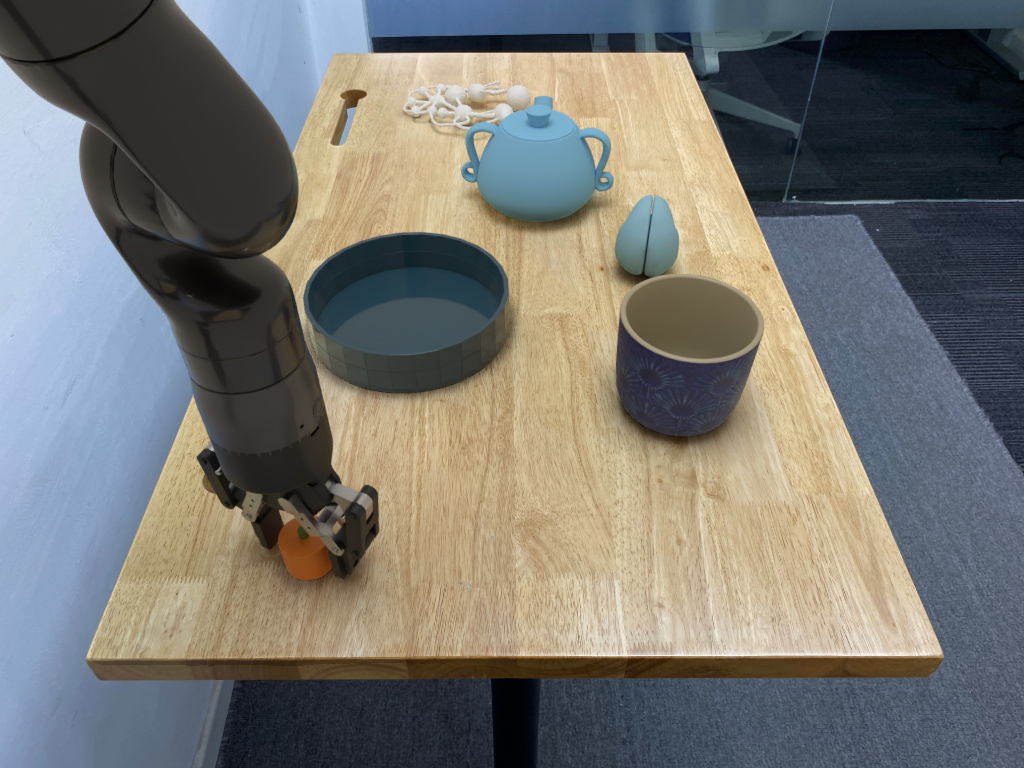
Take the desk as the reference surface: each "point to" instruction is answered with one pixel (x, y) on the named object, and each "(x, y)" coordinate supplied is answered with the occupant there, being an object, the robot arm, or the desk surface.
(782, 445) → the desk surface
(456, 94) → the tangled rod sculpture
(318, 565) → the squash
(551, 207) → the blue sugar bowl
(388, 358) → the bowl
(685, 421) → the planter
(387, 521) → the desk surface
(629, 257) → the toy flower bud
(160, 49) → the robot arm
